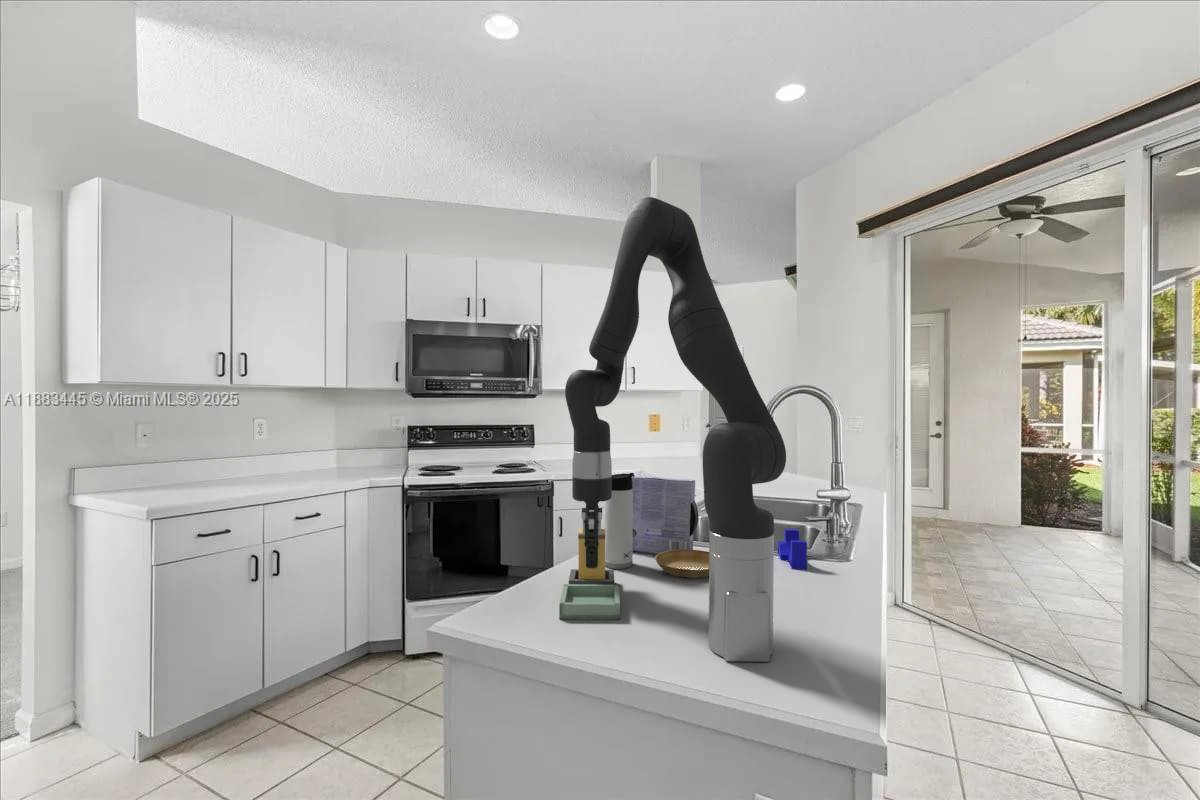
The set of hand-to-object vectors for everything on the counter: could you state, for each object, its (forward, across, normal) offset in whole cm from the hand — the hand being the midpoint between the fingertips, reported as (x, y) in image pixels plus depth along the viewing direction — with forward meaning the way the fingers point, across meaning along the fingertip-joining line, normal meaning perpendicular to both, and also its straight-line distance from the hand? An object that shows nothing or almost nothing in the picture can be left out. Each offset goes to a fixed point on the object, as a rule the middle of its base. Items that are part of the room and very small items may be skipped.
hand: (592, 563), depth 112 cm
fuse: (+3, 0, 0) cm, 3 cm away
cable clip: (+5, +19, -44) cm, 48 cm away
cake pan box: (+5, +26, -14) cm, 30 cm away
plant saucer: (+5, +12, -20) cm, 24 cm away
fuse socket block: (+5, 0, 0) cm, 5 cm away
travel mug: (+5, +15, -6) cm, 17 cm away
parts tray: (+5, -10, 0) cm, 11 cm away
